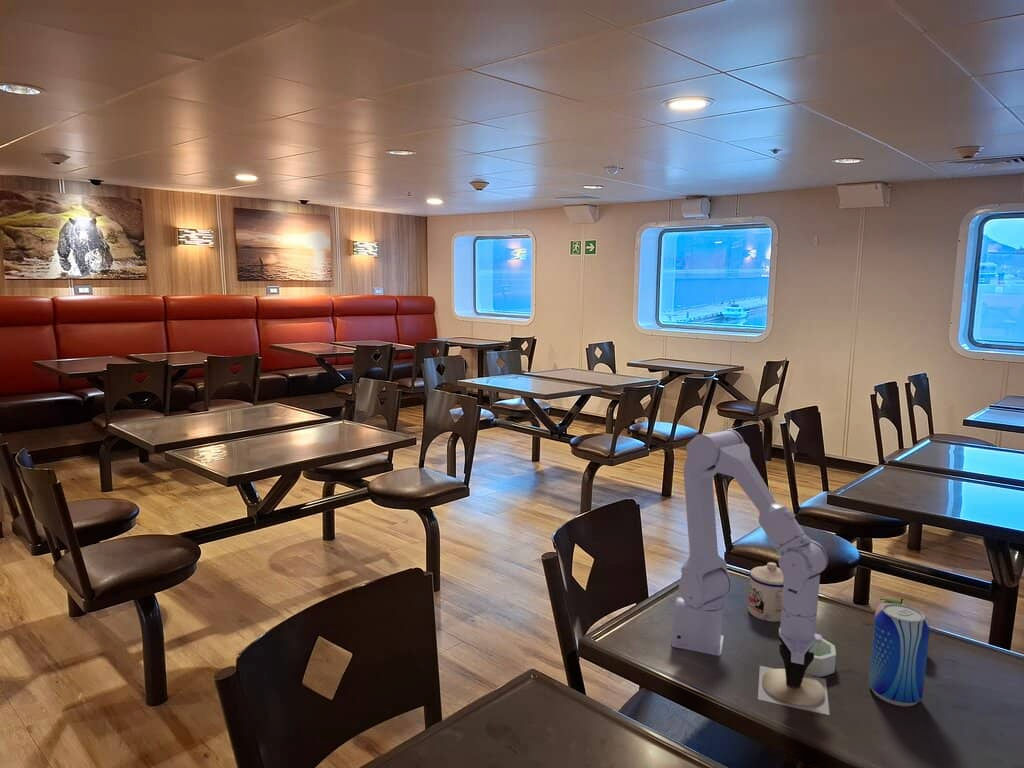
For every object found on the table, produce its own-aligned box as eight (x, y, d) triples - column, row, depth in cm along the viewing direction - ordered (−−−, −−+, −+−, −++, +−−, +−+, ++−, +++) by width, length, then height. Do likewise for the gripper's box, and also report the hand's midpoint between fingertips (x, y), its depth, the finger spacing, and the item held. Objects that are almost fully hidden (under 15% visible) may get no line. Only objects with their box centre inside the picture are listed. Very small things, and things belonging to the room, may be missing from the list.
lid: (761, 698, 121) (763, 673, 120) (762, 667, 131) (764, 644, 130) (826, 712, 117) (828, 686, 117) (822, 679, 127) (824, 655, 126)
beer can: (929, 713, 118) (939, 626, 116) (876, 706, 120) (885, 620, 117) (911, 685, 126) (920, 603, 124) (862, 679, 128) (870, 598, 125)
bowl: (784, 671, 130) (785, 651, 129) (784, 648, 138) (785, 630, 138) (835, 682, 127) (837, 661, 126) (832, 658, 135) (833, 639, 134)
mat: (757, 701, 121) (757, 699, 121) (759, 667, 131) (759, 665, 131) (829, 717, 117) (829, 714, 117) (825, 681, 127) (825, 679, 127)
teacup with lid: (740, 604, 157) (743, 555, 155) (778, 603, 158) (781, 554, 156) (764, 630, 145) (768, 578, 144) (805, 629, 146) (809, 577, 144)
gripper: (826, 633, 113) (819, 708, 116) (821, 596, 127) (815, 664, 129) (780, 625, 116) (774, 699, 118) (780, 589, 129) (775, 656, 131)
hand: (793, 680), depth 124 cm, fingers closed on lid, 2 cm apart
